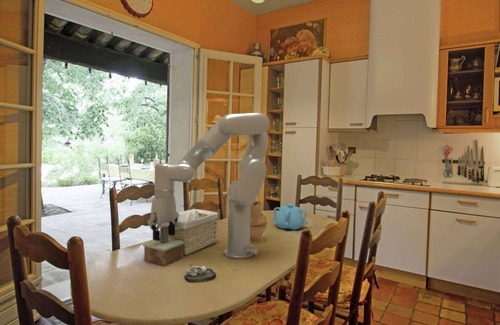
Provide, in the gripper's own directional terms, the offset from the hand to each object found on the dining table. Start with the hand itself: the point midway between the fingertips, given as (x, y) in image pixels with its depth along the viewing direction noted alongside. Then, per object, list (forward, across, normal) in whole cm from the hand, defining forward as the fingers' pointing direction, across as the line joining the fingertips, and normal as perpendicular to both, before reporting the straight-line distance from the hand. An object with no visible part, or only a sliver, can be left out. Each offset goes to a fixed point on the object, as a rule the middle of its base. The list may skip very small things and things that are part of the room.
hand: (164, 237), depth 128 cm
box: (+9, 0, 0) cm, 9 cm away
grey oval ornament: (+10, +5, +22) cm, 25 cm away
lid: (+4, 0, 0) cm, 4 cm away
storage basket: (+9, -18, -2) cm, 21 cm away
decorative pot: (+9, -74, +24) cm, 79 cm away
